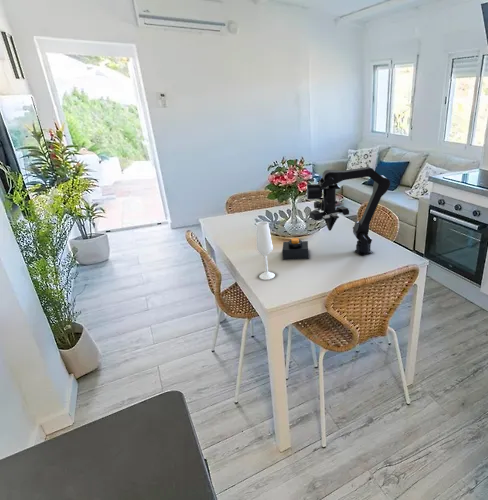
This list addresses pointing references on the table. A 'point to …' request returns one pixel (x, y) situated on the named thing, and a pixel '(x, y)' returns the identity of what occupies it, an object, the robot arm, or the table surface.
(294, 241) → the switch button
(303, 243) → the switch box
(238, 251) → the table surface
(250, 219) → the table surface
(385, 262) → the table surface
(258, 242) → the champagne flute
